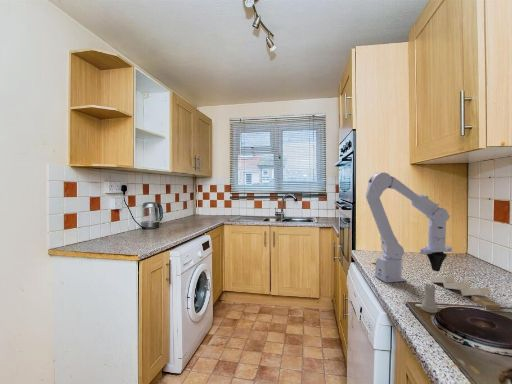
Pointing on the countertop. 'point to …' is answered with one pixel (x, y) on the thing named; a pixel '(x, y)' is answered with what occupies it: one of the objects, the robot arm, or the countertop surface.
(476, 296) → the domino
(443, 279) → the domino
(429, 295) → the rook chess piece
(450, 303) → the countertop surface
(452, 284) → the domino
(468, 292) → the domino
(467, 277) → the countertop surface
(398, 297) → the countertop surface
